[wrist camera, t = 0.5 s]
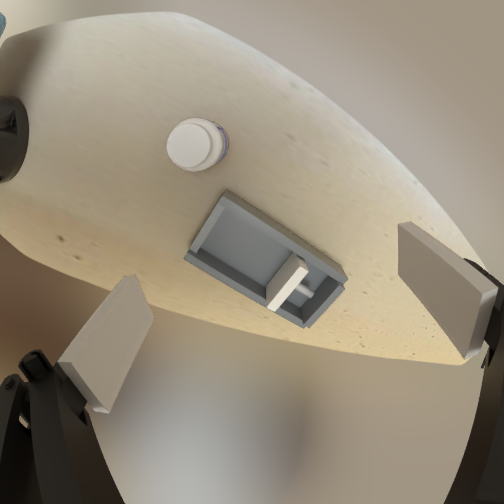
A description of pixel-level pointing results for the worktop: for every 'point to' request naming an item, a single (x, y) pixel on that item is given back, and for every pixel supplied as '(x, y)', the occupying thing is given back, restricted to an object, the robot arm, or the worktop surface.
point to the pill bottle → (197, 144)
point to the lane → (263, 259)
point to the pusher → (287, 282)
